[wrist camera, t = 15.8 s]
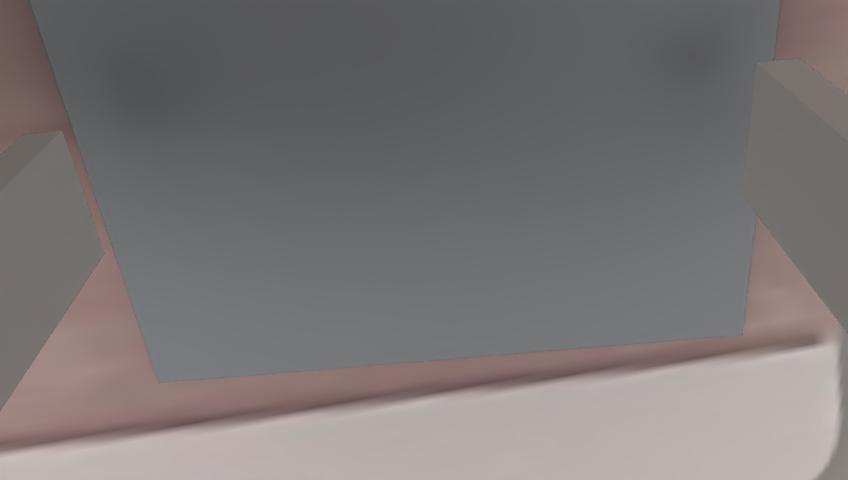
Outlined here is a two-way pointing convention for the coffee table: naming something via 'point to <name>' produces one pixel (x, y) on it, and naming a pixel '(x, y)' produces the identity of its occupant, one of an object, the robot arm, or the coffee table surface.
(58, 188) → the robot arm
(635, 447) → the coffee table surface
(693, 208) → the mat
